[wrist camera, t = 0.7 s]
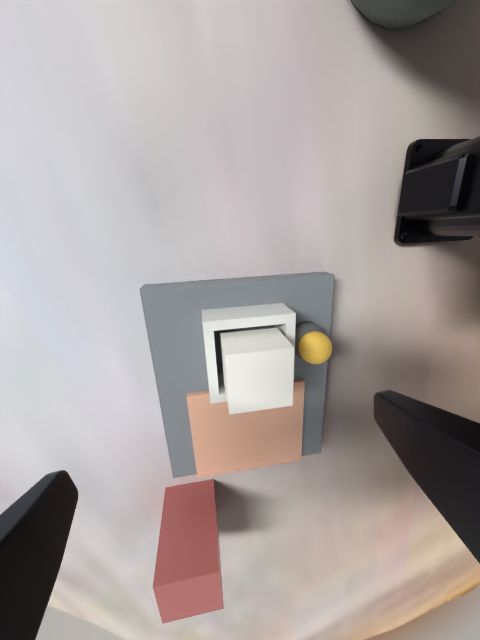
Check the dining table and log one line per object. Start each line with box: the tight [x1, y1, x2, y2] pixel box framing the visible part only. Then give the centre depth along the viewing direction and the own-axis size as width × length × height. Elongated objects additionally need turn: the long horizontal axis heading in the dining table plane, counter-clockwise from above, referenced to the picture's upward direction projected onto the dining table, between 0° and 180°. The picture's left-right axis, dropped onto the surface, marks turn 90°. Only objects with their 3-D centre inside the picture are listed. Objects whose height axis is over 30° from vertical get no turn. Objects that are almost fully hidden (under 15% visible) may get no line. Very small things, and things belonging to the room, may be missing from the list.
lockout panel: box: [140, 272, 334, 478], centre depth 19 cm, size 13×16×4 cm
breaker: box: [220, 328, 294, 415], centre depth 15 cm, size 4×4×3 cm
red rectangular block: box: [153, 479, 224, 623], centre depth 21 cm, size 4×4×7 cm
